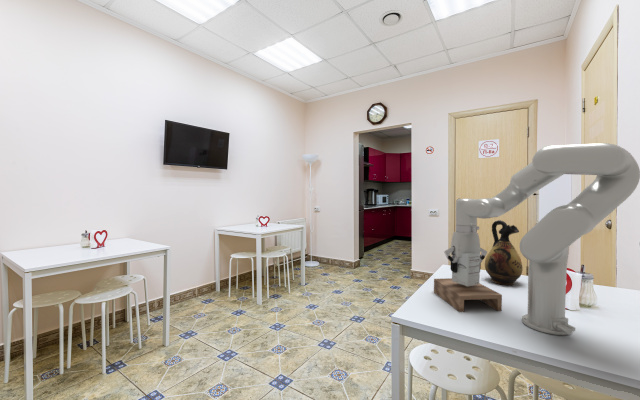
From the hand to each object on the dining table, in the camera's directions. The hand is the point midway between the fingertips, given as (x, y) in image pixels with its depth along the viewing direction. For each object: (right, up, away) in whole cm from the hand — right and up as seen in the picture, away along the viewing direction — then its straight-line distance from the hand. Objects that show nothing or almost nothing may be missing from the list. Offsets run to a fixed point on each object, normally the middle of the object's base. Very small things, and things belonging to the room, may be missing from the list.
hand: (465, 271), depth 111 cm
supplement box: (0, -5, 0) cm, 5 cm away
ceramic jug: (+30, -11, +24) cm, 41 cm away
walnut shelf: (0, -12, 0) cm, 12 cm away
